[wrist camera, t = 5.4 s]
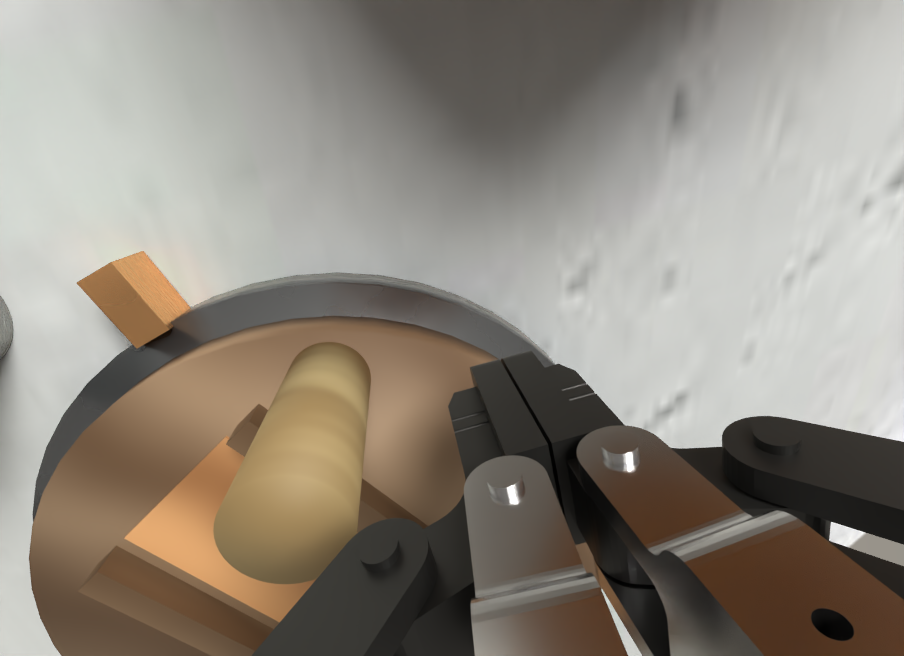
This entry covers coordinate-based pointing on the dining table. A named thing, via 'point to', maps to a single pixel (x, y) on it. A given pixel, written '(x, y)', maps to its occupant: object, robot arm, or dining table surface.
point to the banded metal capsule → (5, 328)
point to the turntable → (245, 482)
